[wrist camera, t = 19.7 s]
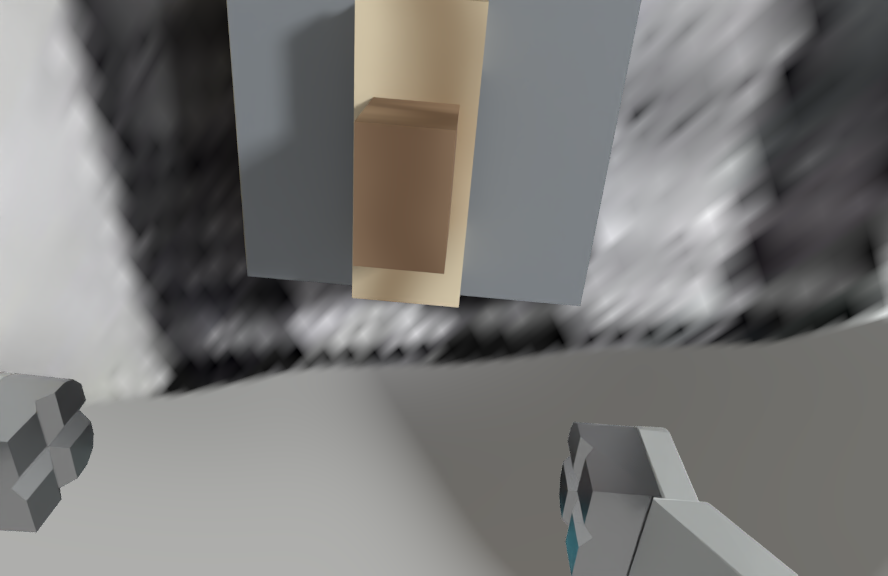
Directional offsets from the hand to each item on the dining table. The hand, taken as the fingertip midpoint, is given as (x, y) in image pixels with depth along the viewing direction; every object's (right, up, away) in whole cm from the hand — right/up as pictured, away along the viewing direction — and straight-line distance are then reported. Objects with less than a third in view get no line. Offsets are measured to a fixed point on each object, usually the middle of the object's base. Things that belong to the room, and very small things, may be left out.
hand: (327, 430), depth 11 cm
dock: (+1, +10, +20) cm, 23 cm away
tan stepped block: (+1, +8, +17) cm, 19 cm away
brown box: (+1, +7, +14) cm, 16 cm away
